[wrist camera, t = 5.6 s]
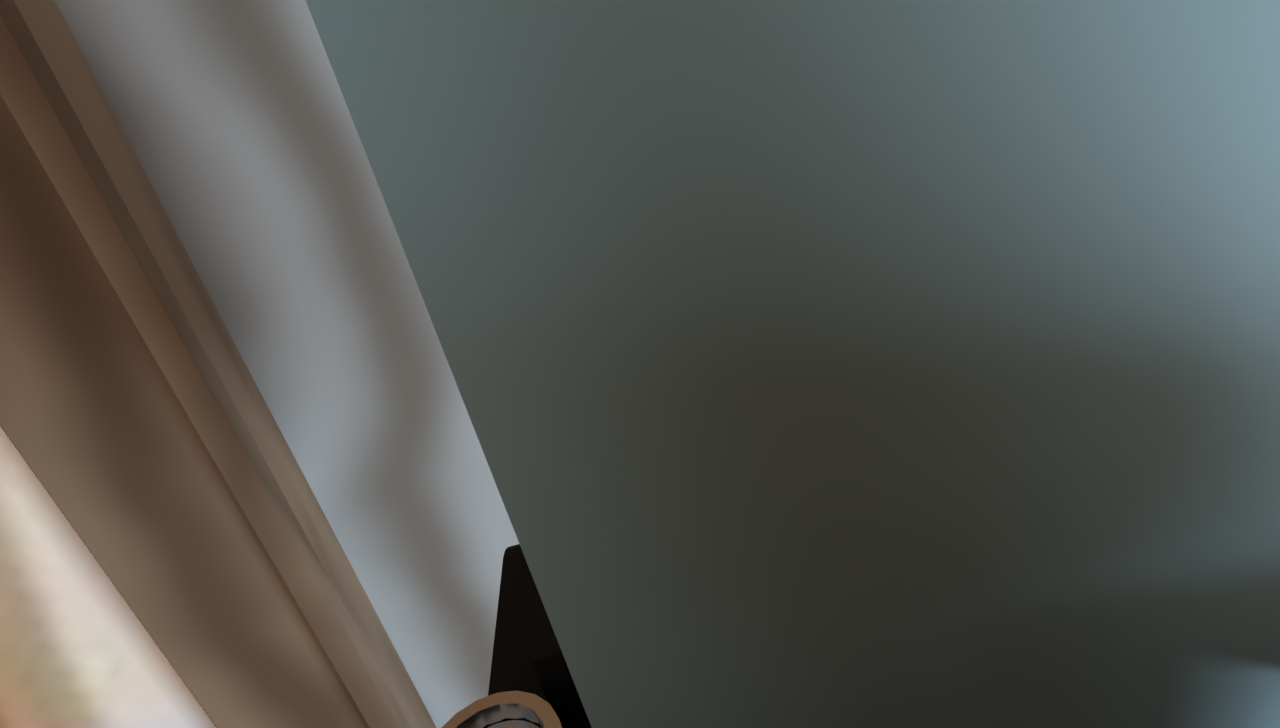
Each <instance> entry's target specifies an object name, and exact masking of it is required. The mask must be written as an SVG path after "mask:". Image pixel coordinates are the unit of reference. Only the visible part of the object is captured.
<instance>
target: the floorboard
mask: <svg viewBox="0 0 1280 728" xmlns="http://www.w3.org/2000/svg"><path fill="white" fill-rule="evenodd" d="M0 426H1V428H2V429H3V430H4V432H5V433H6V435H7V436H8V437H9V439H10V440H11V442H12V443H13V444H14V446H15V447H16V449H17V450H18V451H19V453H20V454H21V456H22V457H23V458H24V460H25V461H26V463H27V464H28V465H29V467H30V468H31V469H32V471H33V472H34V474H35V475H36V476H37V478H38V479H39V481H40V482H41V483H42V485H43V486H44V488H45V489H46V490H47V492H48V493H49V495H50V496H51V497H52V499H53V500H54V502H55V503H56V504H57V506H58V507H59V509H60V510H61V511H62V513H63V514H64V516H65V517H66V518H67V520H68V521H69V523H70V524H71V525H72V527H73V528H74V530H75V531H76V532H77V534H78V535H79V537H80V538H81V539H82V541H83V542H84V544H85V545H86V546H87V548H88V549H89V551H90V552H91V553H92V555H93V556H94V557H95V559H96V560H97V562H98V563H99V564H100V566H101V567H102V569H103V570H104V571H105V573H106V574H107V576H108V577H109V578H110V580H111V581H112V583H113V584H114V585H115V587H116V588H117V590H118V591H119V592H120V594H121V595H122V597H123V598H124V599H125V601H126V602H127V604H128V605H129V606H130V608H131V609H132V611H133V612H134V613H135V615H136V616H137V618H138V619H139V620H140V622H141V623H142V625H143V626H144V627H145V629H146V630H147V632H148V633H149V634H150V636H151V637H152V639H153V640H154V641H155V643H156V644H157V645H158V647H159V648H160V650H161V651H162V652H163V654H164V655H165V657H166V658H167V659H168V661H169V662H170V664H171V665H172V666H173V668H174V669H175V671H176V672H177V673H178V675H179V676H180V678H181V679H182V680H183V682H184V683H185V685H186V686H187V687H188V689H189V690H190V692H191V693H192V694H193V696H194V697H195V699H196V700H197V701H198V703H199V704H200V706H201V707H202V708H203V710H204V711H205V713H206V714H207V715H208V717H209V718H210V720H211V721H212V722H213V724H214V725H215V727H216V728H442V727H443V726H444V725H445V724H446V723H447V722H448V721H449V720H450V719H451V718H452V717H453V716H454V715H455V714H456V713H457V712H459V711H460V710H462V709H464V708H465V707H467V706H468V705H470V704H471V703H473V702H475V701H476V700H479V699H481V698H484V697H487V696H488V691H489V682H490V673H491V664H492V655H493V646H494V637H495V628H496V619H497V609H498V600H499V591H500V582H501V573H502V564H503V556H504V552H505V550H506V548H507V547H510V546H514V545H517V544H519V542H518V539H517V536H516V534H515V531H514V529H513V526H512V524H511V521H510V519H509V516H508V514H507V511H506V509H505V506H504V503H503V501H502V498H501V496H500V493H499V491H498V488H497V486H496V483H495V481H494V478H493V475H492V473H491V470H490V468H489V465H488V463H487V460H486V458H485V455H484V453H483V450H482V448H481V445H480V442H479V440H478V437H477V435H476V432H475V430H474V427H473V425H472V422H471V420H470V417H469V415H468V412H467V409H466V407H465V404H464V402H463V399H462V397H461V394H460V392H459V389H458V387H457V384H456V381H455V379H454V376H453V374H452V371H451V369H450V366H449V364H448V361H447V359H446V356H445V354H444V351H443V348H442V346H441V343H440V341H439V338H438V336H437V333H436V331H435V328H434V326H433V323H432V321H431V318H430V315H429V313H428V310H427V308H426V305H425V303H424V300H423V298H422V295H421V293H420V290H419V287H418V285H417V282H416V280H415V277H414V275H413V272H412V270H411V267H410V265H409V262H408V260H407V257H406V254H405V252H404V249H403V247H402V244H401V242H400V239H399V237H398V234H397V232H396V229H395V227H394V224H393V221H392V219H391V216H390V214H389V211H388V209H387V206H386V204H385V201H384V199H383V196H382V193H381V191H380V188H379V186H378V183H377V181H376V178H375V176H374V173H373V171H372V168H371V166H370V163H369V160H368V158H367V155H366V153H365V150H364V148H363V145H362V143H361V140H360V138H359V135H358V133H357V130H356V127H355V125H354V122H353V120H352V117H351V115H350V112H349V110H348V107H347V105H346V102H345V99H344V97H343V94H342V92H341V89H340V87H339V84H338V82H337V79H336V77H335V74H334V72H333V69H332V66H331V64H330V61H329V59H328V56H327V54H326V51H325V49H324V46H323V44H322V41H321V39H320V36H319V33H318V31H317V28H316V26H315V23H314V21H313V18H312V16H311V13H310V11H309V8H308V5H307V3H306V0H0Z"/></svg>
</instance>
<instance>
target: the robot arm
mask: <svg viewBox="0 0 1280 728" xmlns="http://www.w3.org/2000/svg"><path fill="white" fill-rule="evenodd" d="M442 728H592V727H591V724H590V722H589V719H588V717H587V714H586V712H585V709H584V707H583V704H582V702H581V699H580V697H579V694H578V691H577V689H576V686H575V684H574V681H573V679H572V676H571V674H570V671H569V669H568V666H567V663H566V661H565V658H564V656H563V653H562V651H561V648H560V646H559V643H558V641H557V638H556V636H555V633H554V630H553V628H552V625H551V623H550V620H549V618H548V615H547V613H546V610H545V608H544V605H543V603H542V600H541V597H540V595H539V592H538V590H537V587H536V585H535V582H534V580H533V577H532V575H531V572H530V569H529V567H528V564H527V562H526V559H525V557H524V554H523V552H522V549H521V547H520V544H517V545H514V546H510V547H507V548H506V550H505V552H504V556H503V564H502V573H501V582H500V591H499V600H498V609H497V619H496V628H495V637H494V646H493V655H492V664H491V673H490V682H489V691H488V696H487V697H484V698H481V699H479V700H476V701H475V702H473V703H471V704H470V705H468V706H467V707H465V708H464V709H462V710H460V711H459V712H457V713H456V714H455V715H454V716H453V717H452V718H451V719H450V720H449V721H448V722H447V723H446V724H445V725H444V726H443V727H442Z"/></svg>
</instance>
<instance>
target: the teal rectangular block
mask: <svg viewBox="0 0 1280 728" xmlns="http://www.w3.org/2000/svg"><path fill="white" fill-rule="evenodd" d="M306 3H307V5H308V8H309V11H310V13H311V16H312V18H313V21H314V23H315V26H316V28H317V31H318V33H319V36H320V39H321V41H322V44H323V46H324V49H325V51H326V54H327V56H328V59H329V61H330V64H331V66H332V69H333V72H334V74H335V77H336V79H337V82H338V84H339V87H340V89H341V92H342V94H343V97H344V99H345V102H346V105H347V107H348V110H349V112H350V115H351V117H352V120H353V122H354V125H355V127H356V130H357V133H358V135H359V138H360V140H361V143H362V145H363V148H364V150H365V153H366V155H367V158H368V160H369V163H370V166H371V168H372V171H373V173H374V176H375V178H376V181H377V183H378V186H379V188H380V191H381V193H382V196H383V199H384V201H385V204H386V206H387V209H388V211H389V214H390V216H391V219H392V221H393V224H394V227H395V229H396V232H397V234H398V237H399V239H400V242H401V244H402V247H403V249H404V252H405V254H406V257H407V260H408V262H409V265H410V267H411V270H412V272H413V275H414V277H415V280H416V282H417V285H418V287H419V290H420V293H421V295H422V298H423V300H424V303H425V305H426V308H427V310H428V313H429V315H430V318H431V321H432V323H433V326H434V328H435V331H436V333H437V336H438V338H439V341H440V343H441V346H442V348H443V351H444V354H445V356H446V359H447V361H448V364H449V366H450V369H451V371H452V374H453V376H454V379H455V381H456V384H457V387H458V389H459V392H460V394H461V397H462V399H463V402H464V404H465V407H466V409H467V412H468V415H469V417H470V420H471V422H472V425H473V427H474V430H475V432H476V435H477V437H478V440H479V442H480V445H481V448H482V450H483V453H484V455H485V458H486V460H487V463H488V465H489V468H490V470H491V473H492V475H493V478H494V481H495V483H496V486H497V488H498V491H499V493H500V496H501V498H502V501H503V503H504V506H505V509H506V511H507V514H508V516H509V519H510V521H511V524H512V526H513V529H514V531H515V534H516V536H517V539H518V542H519V544H520V547H521V549H522V552H523V554H524V557H525V559H526V562H527V564H528V567H529V569H530V572H531V575H532V577H533V580H534V582H535V585H536V587H537V590H538V592H539V595H540V597H541V600H542V603H543V605H544V608H545V610H546V613H547V615H548V618H549V620H550V623H551V625H552V628H553V630H554V633H555V636H556V638H557V641H558V643H559V646H560V648H561V651H562V653H563V656H564V658H565V661H566V663H567V666H568V669H569V671H570V674H571V676H572V679H573V681H574V684H575V686H576V689H577V691H578V694H579V697H580V699H581V702H582V704H583V707H584V709H585V712H586V714H587V717H588V719H589V722H590V724H591V727H592V728H1280V0H306Z"/></svg>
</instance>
